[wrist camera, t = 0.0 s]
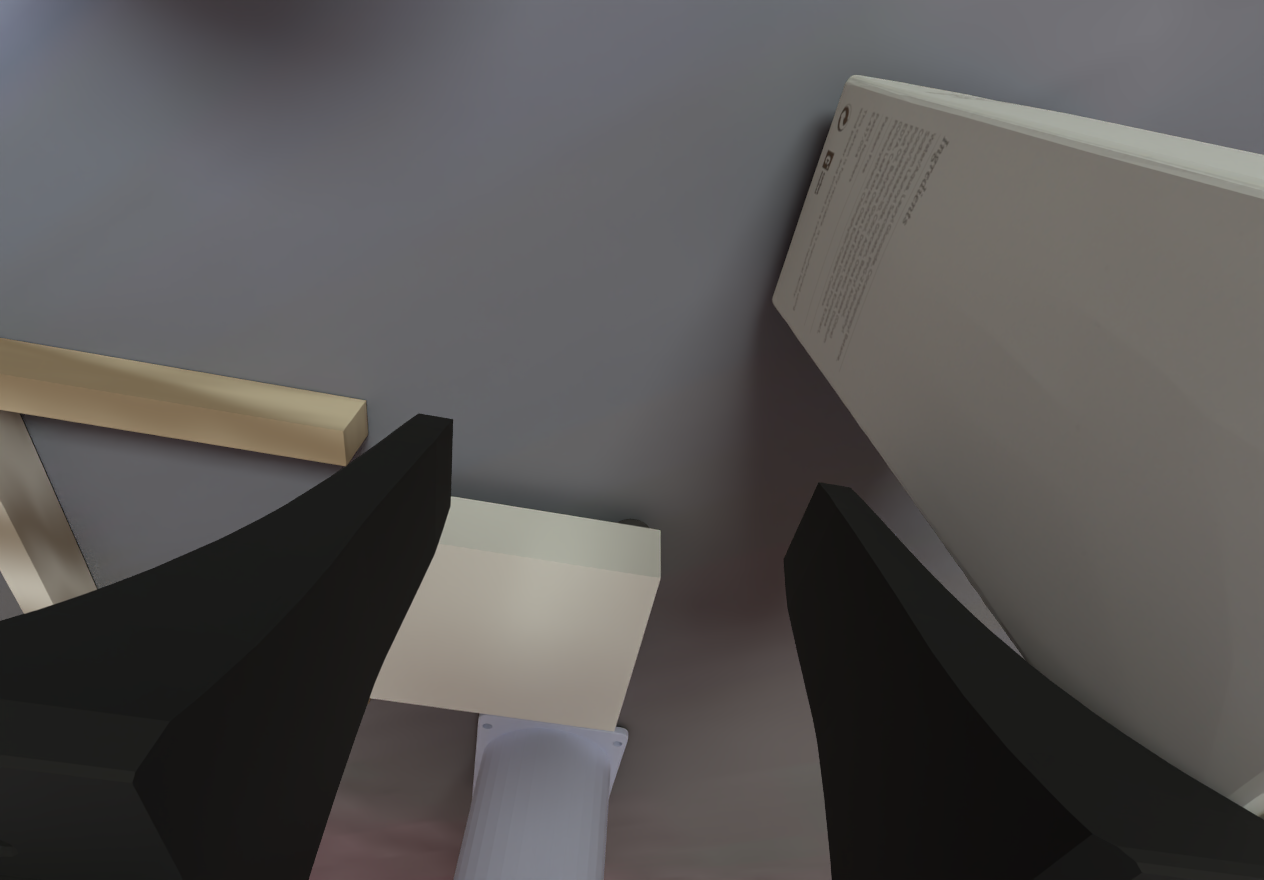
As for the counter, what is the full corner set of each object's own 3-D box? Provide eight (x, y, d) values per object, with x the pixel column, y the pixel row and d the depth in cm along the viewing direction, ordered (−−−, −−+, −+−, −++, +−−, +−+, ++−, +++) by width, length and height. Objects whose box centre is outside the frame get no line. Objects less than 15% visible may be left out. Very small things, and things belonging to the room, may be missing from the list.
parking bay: (383, 667, 32) (368, 703, 30) (82, 625, 31) (50, 660, 29) (365, 400, 23) (342, 431, 21) (-62, 327, 22) (-121, 353, 20)
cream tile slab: (618, 664, 31) (614, 731, 28) (392, 631, 30) (363, 697, 27) (660, 513, 25) (660, 578, 22) (383, 467, 24) (346, 529, 22)
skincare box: (763, 298, 19) (1116, 895, 7) (849, 48, 15) (2039, 311, 3) (1005, 340, 21) (1679, 898, 8) (1136, 120, 17) (2779, 510, 4)
